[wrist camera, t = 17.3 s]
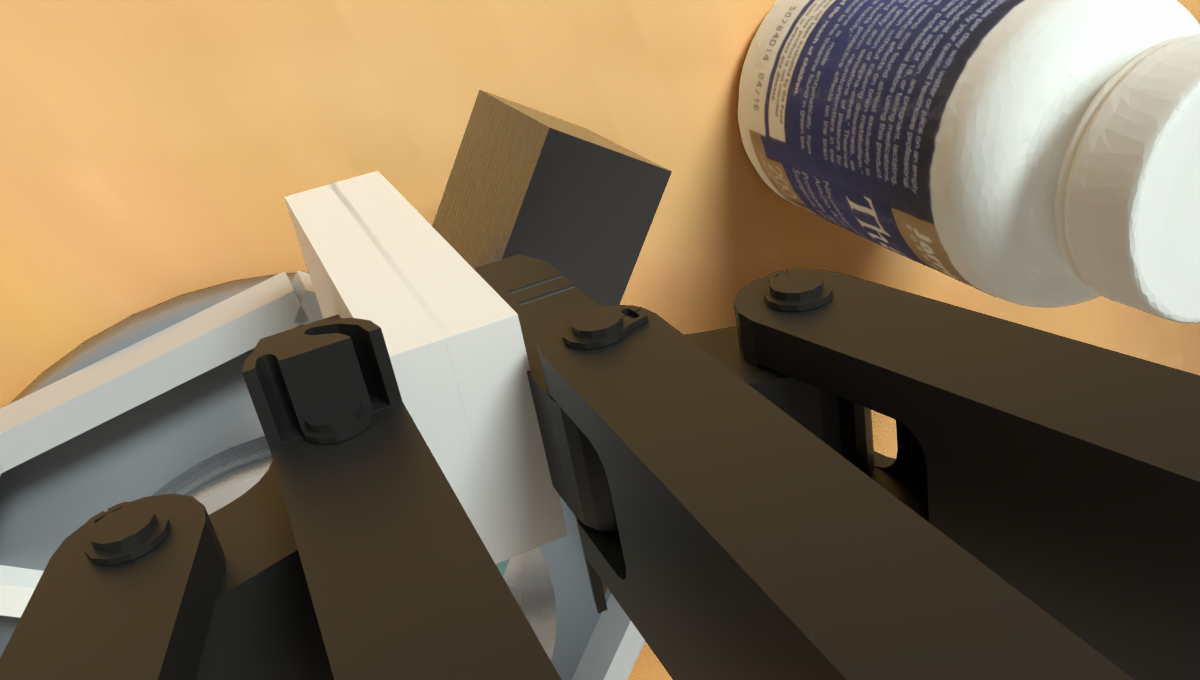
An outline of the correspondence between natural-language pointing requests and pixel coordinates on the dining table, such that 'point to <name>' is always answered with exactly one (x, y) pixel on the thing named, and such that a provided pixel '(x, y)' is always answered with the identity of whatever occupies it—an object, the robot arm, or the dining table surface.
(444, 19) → the dining table surface
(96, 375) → the housing
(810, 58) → the pill bottle
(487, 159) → the dial
